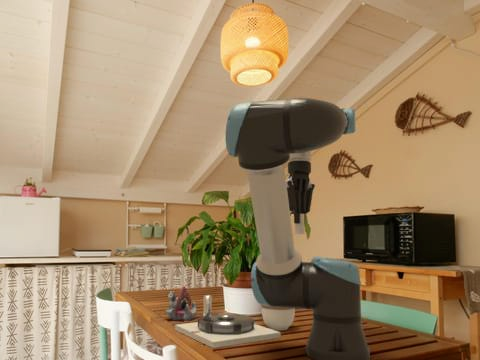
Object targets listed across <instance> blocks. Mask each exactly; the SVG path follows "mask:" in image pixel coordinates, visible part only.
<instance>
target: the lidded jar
mask: <svg viewBox="0 0 480 360" xmlns="http://www.w3.org/2000/svg"><path fill="white" fill-rule="evenodd" d="M260 305H261V304H260ZM260 307H261V317H262V319H263V323H264V324H265V325H266V327H267V328H269V329H272V330H275V331H278V332H280V331H288V329H289V328H290V327H291V325H292V324H293V323H294V319H295V314H296V313H295V312H296V308H283V307H277V308H275V307H269V306H263V305H261V306H260Z"/></svg>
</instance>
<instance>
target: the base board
mask: <svg viewBox="0 0 480 360" xmlns="http://www.w3.org/2000/svg"><path fill="white" fill-rule="evenodd" d="M174 330H175V331H176V332H178V333H181V334H183V335H185V336H187V337H189V338H191V339H193V340H194V341H195V340H196V341H197V342H199V343H202V344H203V345H206V346H207V347H210V348H212V349H217V348H223V347H231V346H236V345H242V344H249V343H250V344H251V343H256V342H261V341H262V342H263V341H268V340H270V341H271V340H275V339H281V336H282V335H281V332H280V331H276V330H272V329H269V328H268V327H265V326H262V325H259V324H255V323H254V329H252V330H250V331H247V332H243V333H237V334H220V333H209V332H205V331H202V330H200V329H199V327H198V321H197V322H195V321H194V322H188V323H178V324H174Z"/></svg>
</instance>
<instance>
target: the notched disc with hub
mask: <svg viewBox="0 0 480 360" xmlns="http://www.w3.org/2000/svg"><path fill="white" fill-rule="evenodd" d="M212 300H213V296H212V295H211V294H205V295H203V310H202V312H203V313H202V316H200V317H197V322H198V327H199V329H200V330H202V331H205V332H209V333H220V334H237V333H243V332H247V331H250V330H252V329H254V324H255V318H252V316H248V315H244V314H236V313H235V314H234V313H230V312H229V313H228V312H227V313H226V312H221V313H212V309H213V307H212V302H213V301H212Z"/></svg>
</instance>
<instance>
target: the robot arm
mask: <svg viewBox="0 0 480 360" xmlns="http://www.w3.org/2000/svg"><path fill="white" fill-rule="evenodd" d="M355 132H356V111H355V109H354V108H351V107H350V108H340V107H339V106H338V105H336V104H334V103H332V102H329V101H325V100H320V99H316V98H307V97H295V98H294V97H293V98H285V99H273V100H259V101H256V100H255V101H254V100H252V101H250V102H243V103H238V104H235V105H234V106H233V107H232V108H231V110H230V111H229V113H228V116H227V120H226V125H225V138H224V139H225V148H226V150H227V151H226V152H227V153H228V155H229V156H231V157H233V158H237V160H238V165H239V168H241V169H242V170H244V171H246V173H247V180H248V185H249V186H248V187H249V192H250V198H251V203H252V204H251V205H252V210H253V217H254V221H255V228H256V233H257V240H258V247H259V252H260V254H259V255H258V256H257V258H256V260H255V262H254V263H253V264H252V267H251V273H250V279H251V283H250V284H251V291H252V294H253V297H254V298H255V301H256V302H257V303H258V304H259V305H263V306H269V307H275V308H277V307H283V308H295V309H299V310H300V309H301V310H303V309H304V310H311V311H312V325H311V327H310V332H309V336H308V340H307V341H306V344H305V347H306V349H305V353H306V356H307V357H309V358H311V359H313V360H370V359H371V355H370V352H371V351H370V347H369V344H368V343H367V340H366V334H365V331H364V329H363V325H362V306H361V305H362V303H361V301H362V300H361V298H362V297H361V285H362V281H361V272H360V268H359V266H358V265H357V264H356V263H354V262H351V261H347V260H343V259H336V258H331V257H330V258H329V257H321V256H313V257H312V259H311V262H309V261H308V262H307V261H306V262H305V261H303V259H302V255H301V253H300V252H299V251H298V250H296V249H295V242H294V235H305V224H306V215H307V214H308V213H310V212H311V206H312V199H313V193H314V190H315V187H316V184H315V183H311V180H310V177H309V176H310V174H311V173H312V163H311V161H312V151H316V150H319V149H321V148H325V147H327V146H330V145H332V144H334V143H336V142H337V141H339V140H340V138H341V137H342V136H343V135H351V134H354V133H355ZM286 165H287V173H288V174H289V175H288V179H287V180H286V169H285V166H286ZM291 214H293V223H294V235H293V228H292V227H293V226H292V219H291Z"/></svg>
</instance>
